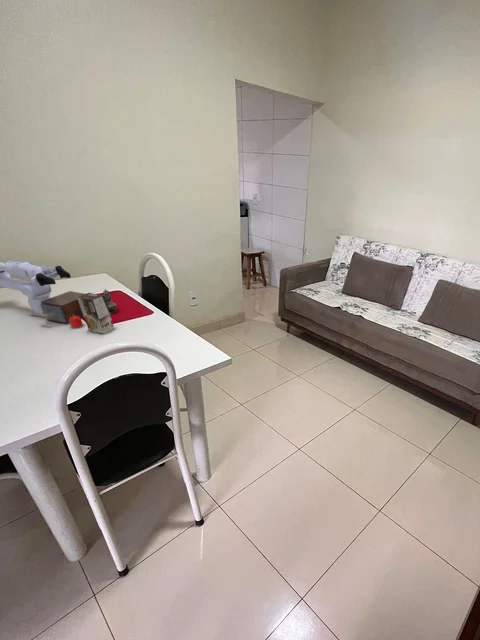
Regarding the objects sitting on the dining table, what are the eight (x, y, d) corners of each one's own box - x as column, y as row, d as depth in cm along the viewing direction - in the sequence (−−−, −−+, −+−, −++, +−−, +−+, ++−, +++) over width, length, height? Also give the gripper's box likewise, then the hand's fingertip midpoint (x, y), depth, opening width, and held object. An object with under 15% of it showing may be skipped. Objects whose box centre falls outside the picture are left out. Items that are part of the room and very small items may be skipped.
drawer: (55, 327, 148) (49, 312, 144) (36, 323, 150) (29, 308, 146) (90, 311, 163) (85, 297, 159) (72, 308, 166) (67, 294, 162)
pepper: (69, 328, 149) (64, 316, 146) (74, 324, 153) (70, 312, 150) (80, 328, 149) (75, 316, 146) (85, 324, 153) (80, 312, 150)
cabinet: (69, 323, 153) (61, 305, 148) (48, 319, 156) (40, 301, 151) (95, 311, 166) (89, 294, 161) (75, 307, 168) (69, 291, 163)
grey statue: (113, 314, 163) (106, 291, 157) (102, 313, 164) (95, 290, 157) (120, 310, 168) (114, 287, 161) (110, 308, 169) (103, 286, 162)
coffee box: (115, 328, 150) (105, 295, 142) (103, 334, 145) (92, 299, 136) (99, 325, 153) (88, 292, 144) (88, 330, 147) (76, 296, 139)
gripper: (19, 270, 141) (43, 275, 137) (50, 259, 151) (72, 264, 148) (27, 285, 145) (50, 291, 142) (56, 273, 156) (78, 279, 153)
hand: (62, 278), depth 145 cm, fingers open, 7 cm apart
